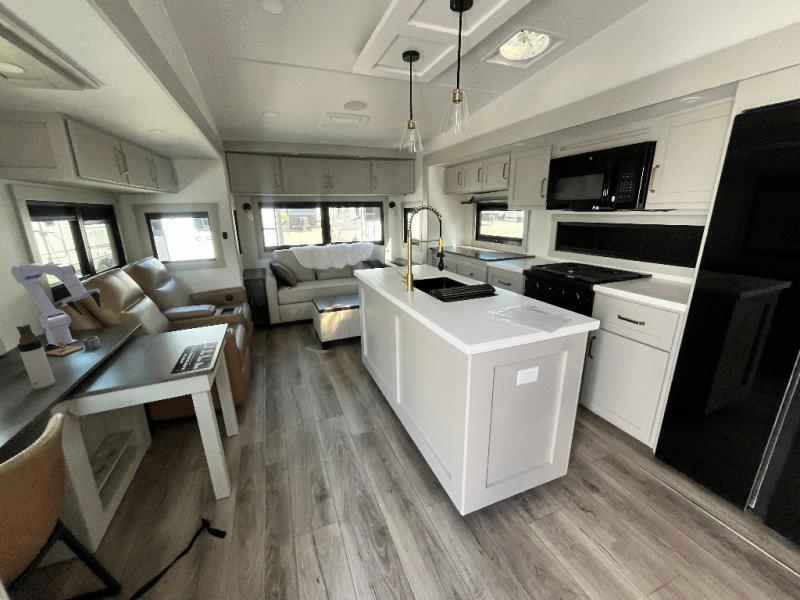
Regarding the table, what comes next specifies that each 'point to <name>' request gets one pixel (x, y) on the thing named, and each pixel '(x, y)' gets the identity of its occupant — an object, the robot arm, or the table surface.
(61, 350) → the brown peg board
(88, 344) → the octagonal steel tube
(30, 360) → the travel mug
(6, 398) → the table surface
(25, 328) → the sauce bottle
